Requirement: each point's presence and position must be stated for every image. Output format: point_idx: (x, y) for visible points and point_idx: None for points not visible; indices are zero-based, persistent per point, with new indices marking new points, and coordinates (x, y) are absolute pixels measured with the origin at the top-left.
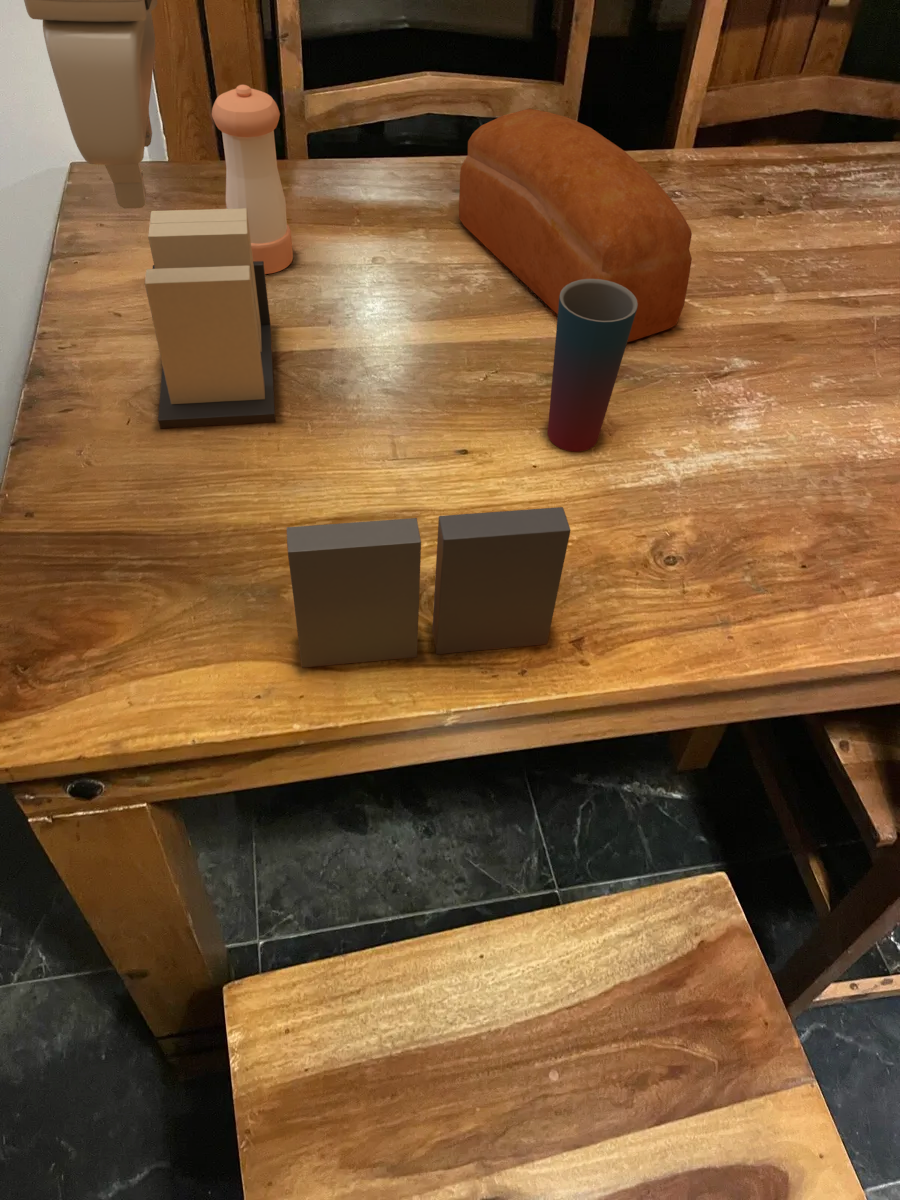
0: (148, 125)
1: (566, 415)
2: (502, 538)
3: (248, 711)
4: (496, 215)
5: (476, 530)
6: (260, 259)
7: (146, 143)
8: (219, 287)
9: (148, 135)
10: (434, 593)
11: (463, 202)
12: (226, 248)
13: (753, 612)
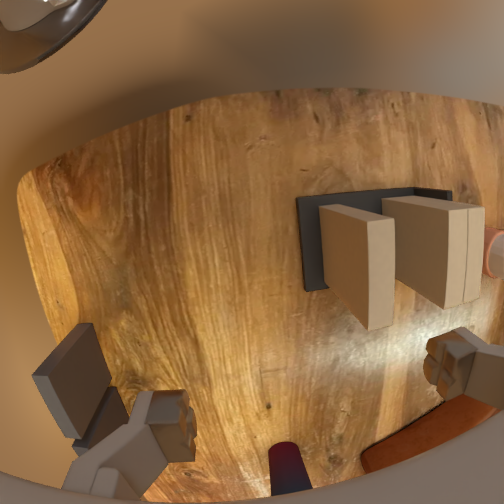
0: (442, 397)
1: (272, 465)
2: None
3: (49, 297)
4: (468, 409)
5: None
6: None
7: (426, 369)
8: (365, 298)
9: (435, 381)
10: (105, 406)
11: None
12: (437, 283)
13: (162, 487)
